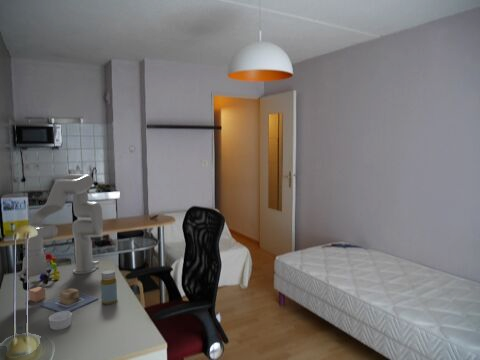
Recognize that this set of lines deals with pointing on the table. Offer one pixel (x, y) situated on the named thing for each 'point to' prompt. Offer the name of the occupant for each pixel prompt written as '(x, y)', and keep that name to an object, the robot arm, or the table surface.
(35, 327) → the table surface
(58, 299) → the board
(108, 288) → the bottle
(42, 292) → the terracotta cube
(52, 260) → the educational toy
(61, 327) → the ramekin
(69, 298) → the oak block
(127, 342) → the table surface
